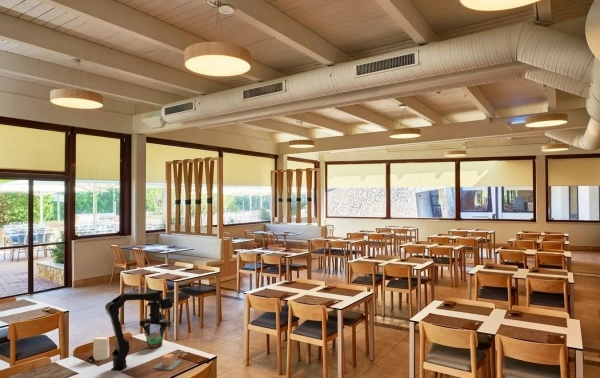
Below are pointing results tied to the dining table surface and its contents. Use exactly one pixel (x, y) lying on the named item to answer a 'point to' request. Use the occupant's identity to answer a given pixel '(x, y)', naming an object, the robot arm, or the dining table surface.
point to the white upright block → (101, 348)
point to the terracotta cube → (168, 359)
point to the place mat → (175, 364)
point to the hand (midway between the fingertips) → (155, 336)
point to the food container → (154, 340)
